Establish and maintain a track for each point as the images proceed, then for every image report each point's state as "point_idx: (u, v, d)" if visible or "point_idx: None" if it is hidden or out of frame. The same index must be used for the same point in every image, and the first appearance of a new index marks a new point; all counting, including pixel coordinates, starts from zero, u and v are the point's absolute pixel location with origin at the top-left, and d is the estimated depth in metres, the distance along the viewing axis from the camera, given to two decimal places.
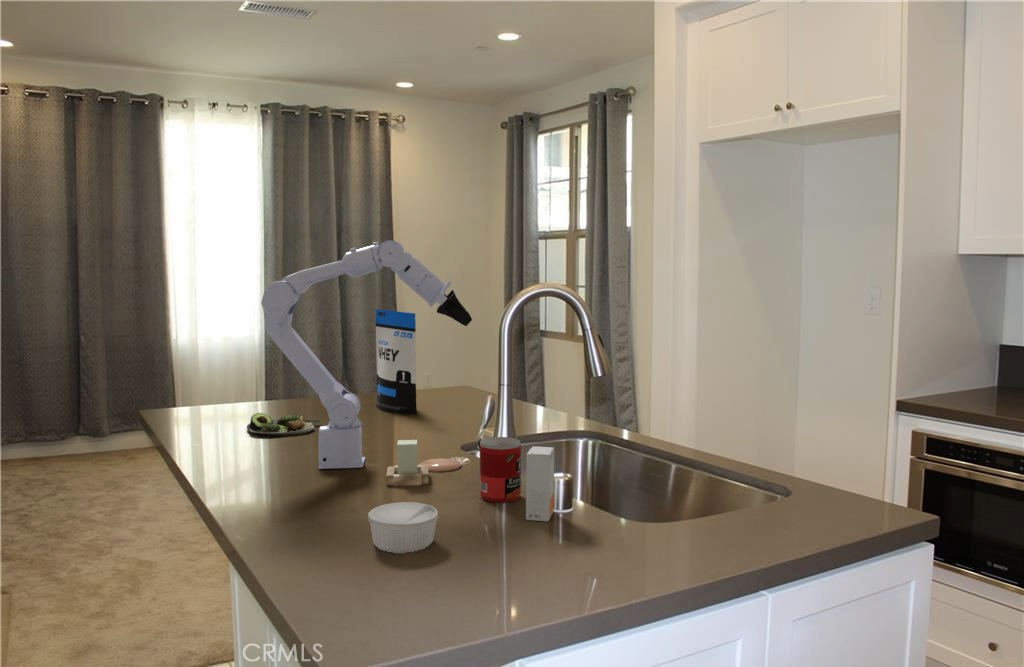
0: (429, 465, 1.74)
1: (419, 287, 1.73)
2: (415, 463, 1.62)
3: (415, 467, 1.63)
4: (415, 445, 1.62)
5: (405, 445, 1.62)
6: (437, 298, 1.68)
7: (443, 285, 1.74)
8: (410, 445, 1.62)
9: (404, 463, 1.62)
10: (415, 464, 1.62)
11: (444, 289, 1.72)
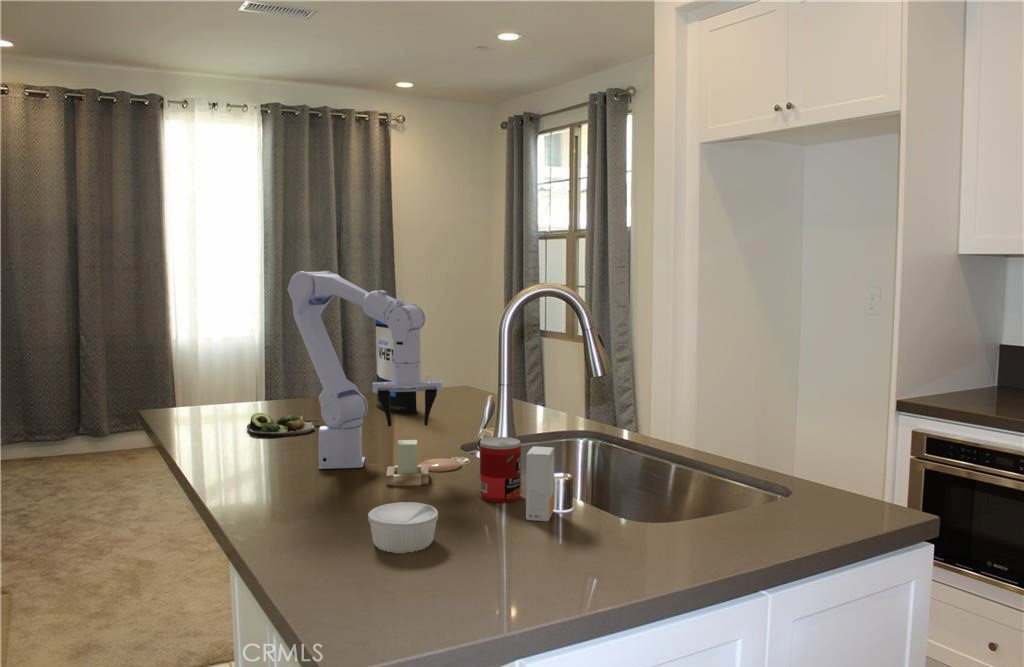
0: (429, 465, 1.74)
1: None
2: (415, 463, 1.62)
3: (415, 467, 1.63)
4: (415, 445, 1.62)
5: (405, 445, 1.62)
6: None
7: (399, 382, 1.65)
8: (410, 445, 1.62)
9: (404, 463, 1.62)
10: (415, 464, 1.62)
11: (389, 385, 1.66)
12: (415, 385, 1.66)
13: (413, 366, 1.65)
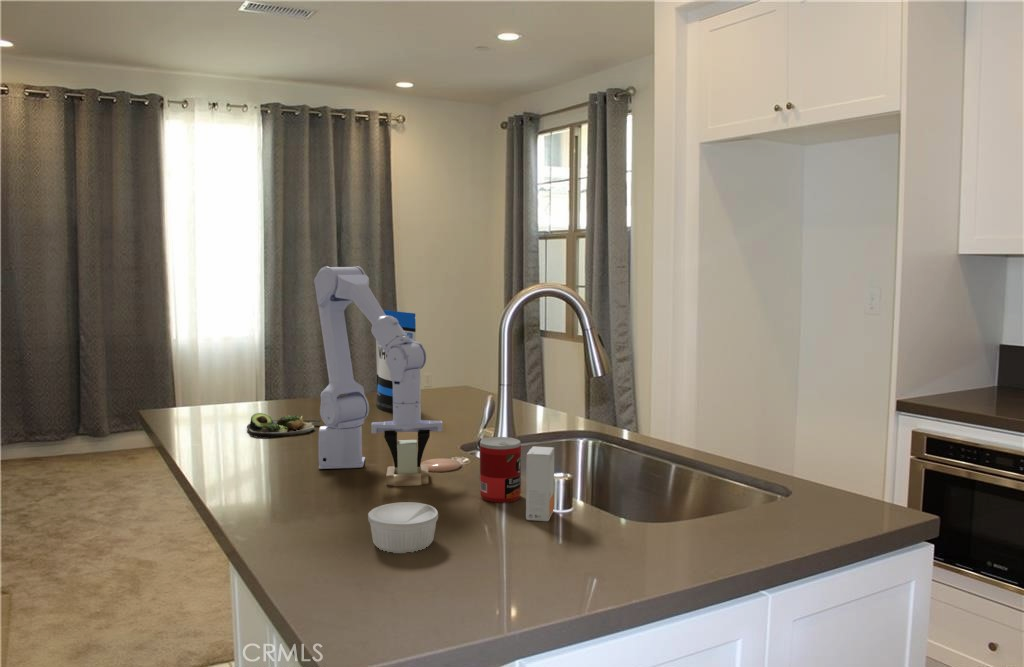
0: (429, 465, 1.74)
1: None
2: (415, 463, 1.62)
3: (415, 467, 1.63)
4: (415, 445, 1.62)
5: (405, 445, 1.62)
6: None
7: (399, 423, 1.61)
8: (410, 445, 1.62)
9: (404, 463, 1.62)
10: (415, 464, 1.62)
11: (388, 426, 1.61)
12: (415, 426, 1.61)
13: (413, 406, 1.61)
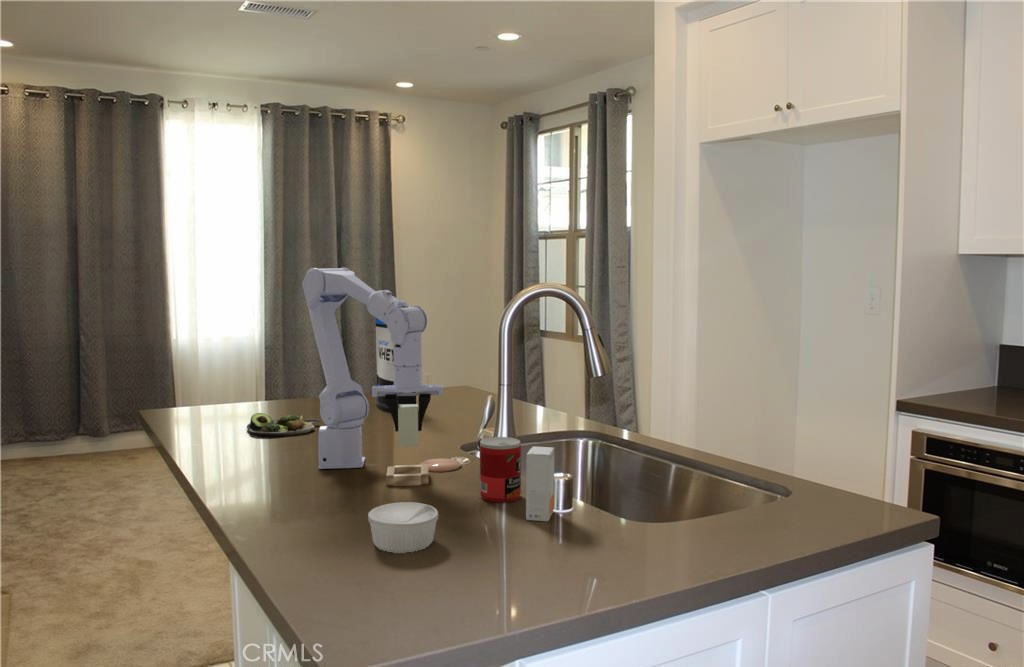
0: (429, 465, 1.74)
1: None
2: (416, 427, 1.62)
3: (416, 431, 1.62)
4: (416, 409, 1.62)
5: (406, 409, 1.62)
6: None
7: (400, 386, 1.61)
8: (411, 409, 1.62)
9: (405, 427, 1.62)
10: (416, 428, 1.62)
11: (389, 389, 1.61)
12: (416, 389, 1.61)
13: (414, 370, 1.61)
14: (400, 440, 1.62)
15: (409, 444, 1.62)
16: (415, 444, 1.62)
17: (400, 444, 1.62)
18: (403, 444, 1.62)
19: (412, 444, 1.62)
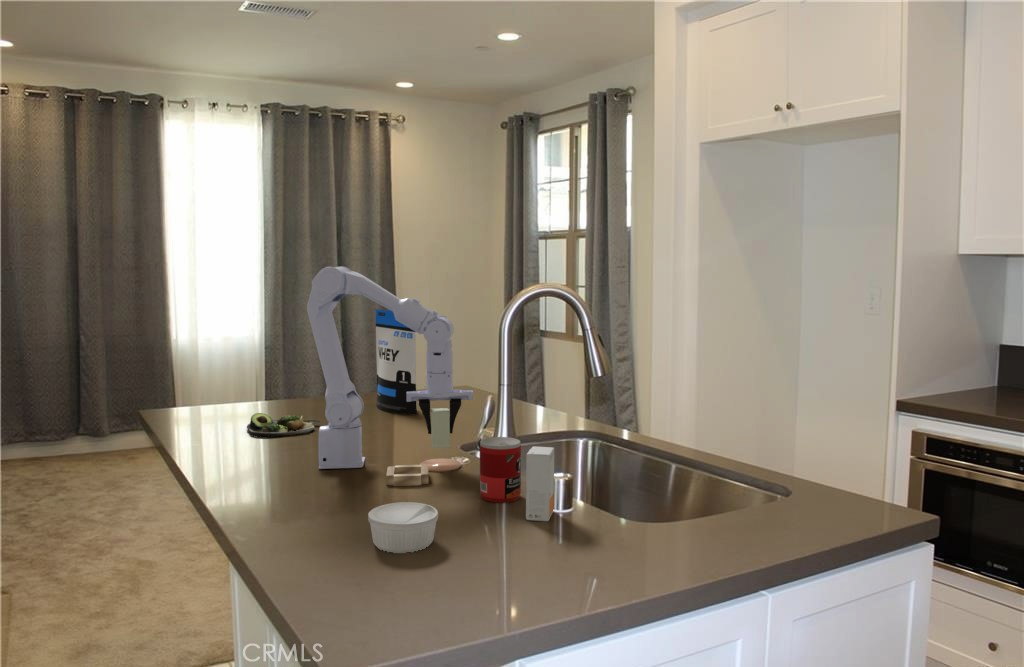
0: (429, 465, 1.74)
1: None
2: (448, 429, 1.73)
3: (448, 433, 1.73)
4: (448, 412, 1.72)
5: (438, 412, 1.72)
6: (406, 393, 1.73)
7: (432, 392, 1.71)
8: (443, 412, 1.72)
9: (437, 429, 1.72)
10: (448, 430, 1.73)
11: (423, 395, 1.71)
12: (448, 394, 1.71)
13: (446, 376, 1.71)
14: (433, 442, 1.73)
15: (441, 446, 1.73)
16: (447, 446, 1.73)
17: (433, 446, 1.73)
18: (436, 445, 1.73)
19: (444, 446, 1.73)
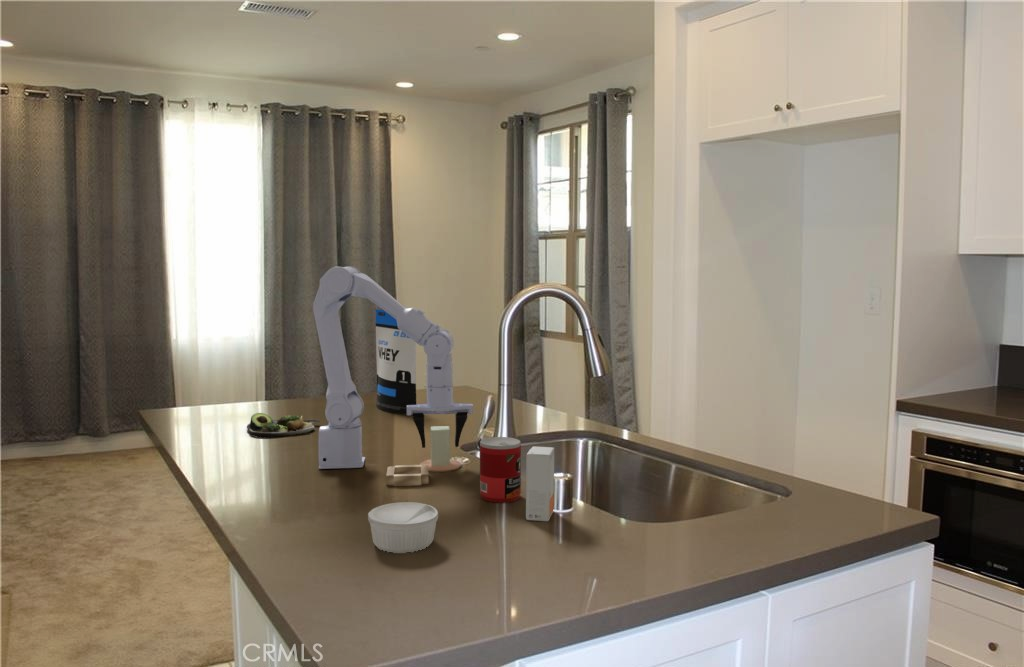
0: (429, 465, 1.74)
1: None
2: (448, 448, 1.73)
3: (448, 451, 1.73)
4: (448, 431, 1.73)
5: (438, 431, 1.72)
6: None
7: (433, 406, 1.71)
8: (443, 431, 1.73)
9: (437, 447, 1.73)
10: (448, 448, 1.73)
11: (423, 408, 1.72)
12: (448, 408, 1.72)
13: (446, 390, 1.71)
14: (433, 460, 1.73)
15: (441, 464, 1.73)
16: (447, 464, 1.73)
17: (433, 464, 1.73)
18: (436, 463, 1.73)
19: (444, 464, 1.73)
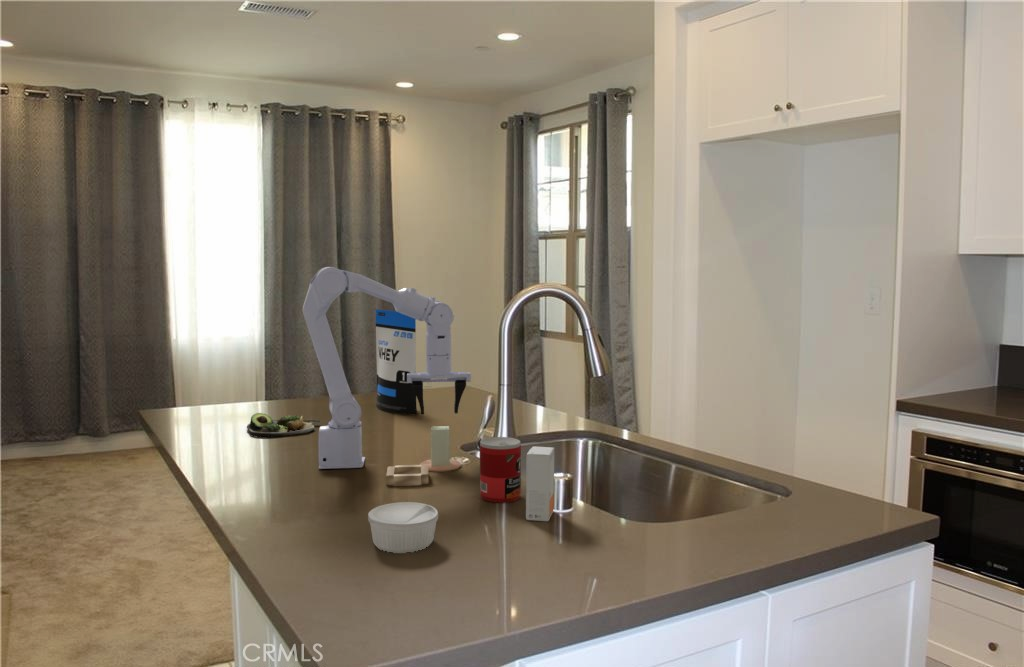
0: (429, 465, 1.74)
1: None
2: (448, 448, 1.73)
3: (448, 451, 1.73)
4: (448, 431, 1.73)
5: (438, 431, 1.72)
6: (407, 375, 1.81)
7: (432, 373, 1.79)
8: (443, 431, 1.73)
9: (437, 447, 1.73)
10: (448, 448, 1.73)
11: (423, 376, 1.79)
12: (446, 376, 1.79)
13: (445, 358, 1.79)
14: (433, 460, 1.73)
15: (441, 464, 1.73)
16: (447, 464, 1.73)
17: (433, 464, 1.73)
18: (436, 463, 1.73)
19: (444, 464, 1.73)
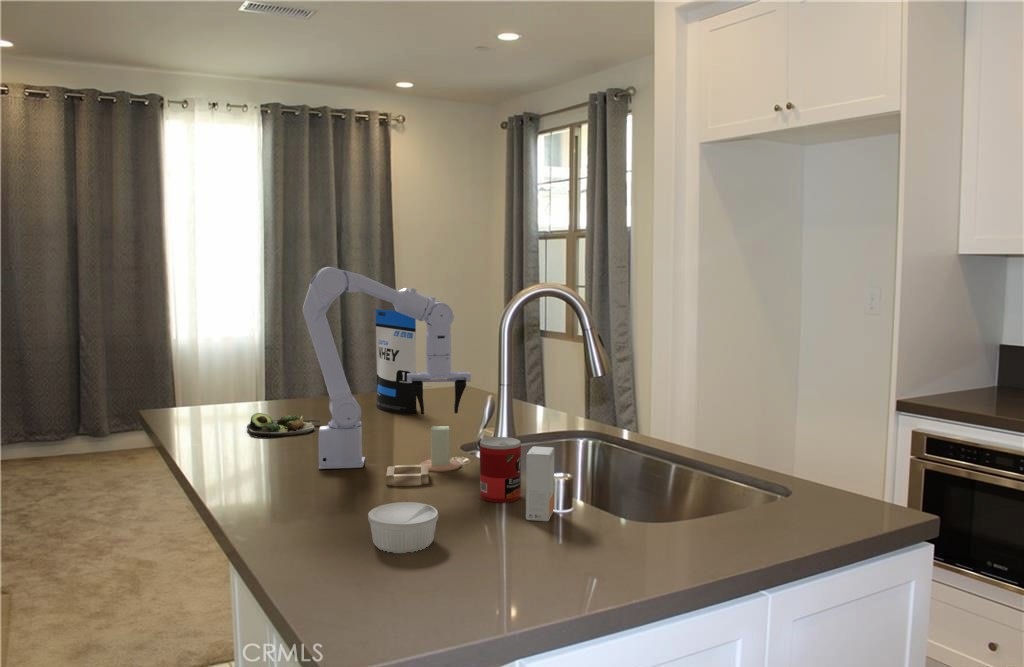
0: (429, 465, 1.74)
1: None
2: (448, 448, 1.73)
3: (448, 451, 1.73)
4: (448, 431, 1.73)
5: (438, 431, 1.72)
6: (407, 375, 1.81)
7: (432, 373, 1.79)
8: (443, 431, 1.73)
9: (437, 447, 1.73)
10: (448, 448, 1.73)
11: (422, 376, 1.79)
12: (446, 376, 1.79)
13: (445, 358, 1.79)
14: (433, 460, 1.73)
15: (441, 464, 1.73)
16: (447, 464, 1.73)
17: (433, 464, 1.73)
18: (436, 463, 1.73)
19: (444, 464, 1.73)
